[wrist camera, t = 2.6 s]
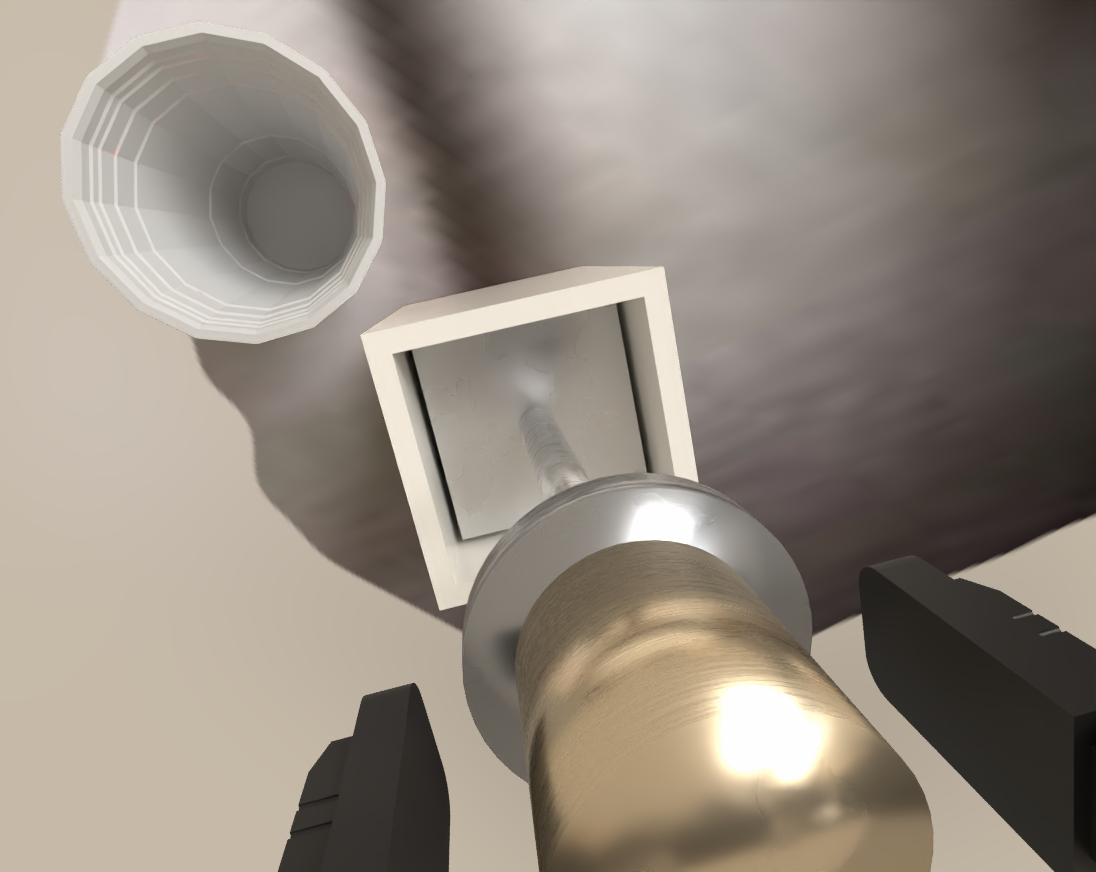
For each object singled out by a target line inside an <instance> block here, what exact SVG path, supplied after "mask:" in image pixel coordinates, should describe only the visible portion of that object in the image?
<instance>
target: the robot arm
mask: <svg viewBox="0 0 1096 872" xmlns="http://www.w3.org/2000/svg"><path fill="white" fill-rule="evenodd" d="M859 588H860V598H861V609H862V619H863V630H864V640H865V650H866V658H867V662H868V666H869V669H870V672H871V674H872V676H873V679H874V681H875V683H876V685H877V686H878V688H879V689H880V691H881V692H882V694H883V695H884V697H885V698H886V699H887V700H888V701H889V702H890V703H891V704H892V705H893V706H894V707H895V708H896V709H897V710H898V711H899V712H900V713H901V714H902V715H903V716H904V717H905V718H906V719H907V721H908V722H909V723H910V724H911V725H912V726H913V727H914V728H915V729H916V730H918V732H919V733H920V734H921V735H922V736H923V737H924V738H925V739H926V740H927V741H928V742H929V743H930V744H931V745H932V746H933V747H934V748H935V749H936V750H937V751H938V752H939V753H940V754H941V755H942V757H943V758H944V759H945V760H946V761H947V762H948V763H949V764H950V765H951V766H952V767H953V768H954V769H955V770H956V771H957V772H958V773H959V774H960V775H961V776H962V777H963V778H964V779H965V780H966V781H967V782H968V783H969V784H970V785H971V786H972V787H973V788H974V789H975V790H976V791H977V793H979V795H980V796H981V797H982V798H983V799H984V800H985V801H986V802H987V803H988V804H989V805H990V806H991V807H992V808H993V809H994V810H995V811H996V812H997V813H998V814H999V815H1000V816H1001V817H1002V818H1003V819H1004V820H1005V821H1006V822H1007V823H1008V824H1009V825H1010V826H1011V827H1012V829H1013V830H1014V831H1015V832H1016V833H1017V834H1018V835H1019V836H1020V837H1021V838H1022V839H1023V840H1024V841H1025V842H1026V843H1027V844H1028V845H1029V846H1030V847H1031V848H1032V849H1033V850H1034V851H1035V852H1036V853H1037V854H1038V855H1039V856H1040V857H1041V858H1042V859H1043V860H1044V861H1045V862H1046V863H1047V864H1048V865H1049V867H1050V868H1051V869H1052V870H1053V871H1054V872H1096V649H1095V648H1093V647H1091V646H1090V645H1088V644H1086V643H1085V642H1083V641H1081V640H1080V639H1078V638H1076V637H1075V636H1073V635H1072V634H1070V633H1068V632H1067V631H1065V632H1061V631H1060V629H1059V627H1058V626H1057V625H1055V624H1054V623H1052V622H1050V621H1049V620H1047V619H1045V618H1044V617H1042V616H1040V615H1039V614H1037V615H1034V614H1033V613H1032V610H1030V609H1029V608H1027V607H1026V606H1024V605H1022V604H1021V603H1019V602H1017V601H1016V600H1014V599H1012V598H1011V597H1009V596H1008V595H1006V594H1004V593H1003V592H1001V591H999V590H995V589H992V588H989V587H986V586H983V585H980V584H977V583H974V582H971V581H968V580H964V579H961V578H959V579H955V580H954V579H952V578H951V577H949V576H947V575H946V574H944V573H943V572H941V571H940V570H938V569H937V568H935V567H933V566H932V565H930V564H929V563H927V562H926V561H924V560H923V559H921V558H919V557H917V556H906V557H903V558H899V559H895V560H891V561H887V562H883V563H879V564H876V565H872V566H868V567H865V568H863V569H862V570H861V572H860V576H859ZM290 834H291V838H290V839H288V840H287V844H286V847H285V850H284V853H283V857H282V860H281V863H280V866H279V870H278V872H449V841H450V802H449V794H448V787H447V781H446V776H445V772H444V768H443V764H442V761H441V759H440V755H439V752H438V749H437V745H436V742H435V739H434V735H433V732H432V729H431V726H430V722H429V719H428V716H427V713H426V709H425V706H424V703H423V700H422V697H421V694H420V691H419V689H418V687H417V685H416V684H415V683H412V684H407V685H404V686H400V687H396V688H392V689H388V690H384V691H380V692H376V693H373V694H369V695H365V696H364V697H363V698H362V701H361V704H360V709H359V713H358V717H357V721H356V725H355V729H354V733H353V736H351V737H347V738H343V739H340V740H336V741H332V742H331V743H330V744H329V746H328V747H327V748H326V750H325V751H324V752H323V754H322V755H321V756H320V758H319V759H318V760H317V762H316V763H315V765H314V766H313V767H312V769H311V770H310V771H309V773H308V776H307V779H306V782H305V786H304V789H303V792H302V795H301V799H300V802H299V811H297V812H296V815H295V818H294V821H293V825H292V828H291V831H290Z"/></svg>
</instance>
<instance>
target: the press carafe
mask: <svg viewBox="0 0 1096 872" xmlns="http://www.w3.org/2000/svg"><path fill="white" fill-rule="evenodd" d="M614 303H616V305H617V311H618V316H619V322H620V327H621V333H622V338H623V344H624V349H625V355H626V360H627V366H628V371H629V377H630V382H631V388H632V393H633V399H634V404H635V410H636V415H637V421H638V426H639V432H640V437H641V443H642V448H643V454H644V459H645V465H646V470H647V473H656V474H667V475H672V476H677V477H681V478H686V479H690V480H692V481H695V482H698V477H697V470H696V464H695V458H694V452H693V446H692V439H691V433H690V427H689V421H688V415H687V408H686V402H685V396H684V390H683V383H682V377H681V371H680V365H679V359H678V352H677V346H676V340H675V334H674V327H673V321H672V315H671V309H670V303H669V296H668V290H667V284H666V278H665V272H664V267H633V266H580V267H576V268H571V269H567V270H562V271H558V272H553V273H549V274H544V275H540V276H536V277H531V278H527V279H522V280H518V281H513V282H509V283H504V284H500V285H495V286H491V287H486V288H482V289H477V290H473V291H468V292H464V293H460V294H455V295H451V296H446V297H442V298H437V299H433V300H428V301H424V302H419V303H415V304H410V305H406V306H403V307H402V308H400V309H399V310H397V311H396V312H394V313H393V314H391V315H390V316H388V317H387V318H385V319H384V320H382V321H381V322H379V323H378V324H376V325H375V326H373V327H372V328H370V329H369V330H367V331H366V332H364V333H363V334H361V335H360V336H361V339H362V343H363V346H364V350H365V353H366V357H367V360H368V364H369V367H370V370H371V374H372V377H373V381H374V384H375V388H376V391H377V395H378V398H379V402H380V405H381V409H382V412H383V416H384V419H385V423H386V426H387V430H388V433H389V436H390V440H391V443H392V447H393V450H394V454H395V457H396V461H397V464H398V468H399V471H400V475H401V478H402V482H403V485H404V489H405V492H406V496H407V499H408V502H409V506H410V509H411V513H412V516H413V520H414V523H415V527H416V530H417V534H418V537H419V541H420V544H421V548H422V551H423V555H424V558H425V561H426V565H427V568H428V572H429V575H430V579H431V582H432V586H433V589H434V593H435V596H436V600H437V603H438V607H439V610H444V609H448V608H452V607H456V606H460V605H464V604H467V602H468V598H469V594H470V591H471V589H472V586H473V584H474V581H475V579H476V576H477V574H478V572H479V570H480V568H481V567H482V565H483V563H484V561H485V560H486V558H487V556H488V554H489V553H490V552H491V550H492V549H493V548H494V546H495V545H496V544H497V542H498V541H499V540H500V538H501V537H502V536H503V535H504V534H505V533H506V532H507V531H508V530H509V529H510V528H509V529H505V530H501V531H497V532H493V533H489V534H485V535H481V536H477V537H473V538H468V539H464V540H463V539H462V535H461V532H460V528H459V524H458V521H457V517H456V513H455V509H454V506H453V502H452V498H451V494H450V491H449V487H448V483H447V480H446V476H445V472H444V468H443V465H442V461H441V457H440V454H439V450H438V446H437V442H436V439H435V435H434V431H433V428H432V424H431V420H430V416H429V413H428V409H427V405H426V401H425V398H424V394H423V390H422V387H421V383H420V379H419V375H418V372H417V368H416V364H415V361H414V357H413V353H412V349H416V348H421V347H425V346H429V345H434V344H438V343H442V342H447V341H451V340H456V339H460V338H464V337H469V336H473V335H478V334H482V333H486V332H491V331H495V330H500V329H504V328H508V327H513V326H517V325H522V324H526V323H530V322H535V321H539V320H543V319H548V318H552V317H557V316H561V315H565V314H570V313H574V312H579V311H583V310H587V309H592V308H596V307H601V306H605V305H609V304H614Z"/></svg>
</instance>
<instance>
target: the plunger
mask: <svg viewBox="0 0 1096 872" xmlns="http://www.w3.org/2000/svg"><path fill="white" fill-rule="evenodd" d="M412 353H413V357H414V361H415V364H416V368H417V372H418V375H419V379H420V383H421V387H422V390H423V394H424V398H425V401H426V405H427V409H428V413H429V416H430V420H431V424H432V428H433V431H434V435H435V439H436V442H437V446H438V450H439V454H440V457H441V461H442V465H443V468H444V472H445V476H446V480H447V483H448V487H449V491H450V494H451V498H452V502H453V506H454V509H455V513H456V517H457V521H458V524H459V528H460V532H461V535H462V539H463V540H464V539H468V538H473V537H477V536H481V535H485V534H489V533H493V532H497V531H501V530H505V529H509V528H510V529H509V530H508V531H507V532H506V533H505V534H504V535H503V536H502V537H501V538H500V540H499V541H498V542H497V544H496V545H495V546H494V548H493V549H492V550H491V552H490V553H489V554H488V556H487V558H486V560H485V561H484V563H483V565H482V567H481V568H480V570H479V572H478V574H477V576H476V579H475V581H474V584H473V586H472V589H471V591H470V594H469V598H468V602H467V606H466V610H465V614H464V624H463V639H462V640H463V641H462V642H463V643H462V644H463V645H462V665H463V684H464V688H465V694H466V699H467V703H468V707H469V709H470V712H471V714H472V717H473V720H474V722H475V725H476V726H477V728H478V730H479V732H480V734H481V736H482V737H483V739H484V741H485V742H486V743H487V745H488V746H489V747H490V749H491V750H492V751H493V753H494V754H495V755H496V756H497V758H498V759H499V760H500V761H501V762H503V763H504V764H505V765H506V766H507V767H508V768H509V769H510V770H511V771H512V772H513V773H515V774H516V775H517V776H519V777H520V778H522V779H523V780H525V781H526V782H527V783H529V791H530V799H531V807H532V816H533V824H534V832H535V840H536V848H537V856H538V865H539V872H930V869H931V862H932V856H933V827H932V821H931V814H930V810H929V807H928V804H927V801H926V798H925V795H924V792H923V790H922V788H921V787H920V785H919V783H918V781H917V779H916V777H915V775H914V774H913V773H912V771H911V770H910V769H909V767H908V766H907V765H906V763H905V762H904V761H903V760H902V758H901V757H900V756H899V755H898V754H897V753H896V752H895V751H894V749H893V748H892V747H891V746H890V745H889V744H888V743H887V741H886V740H885V739H884V738H883V737H882V736H881V735H880V733H879V732H878V731H877V730H876V729H875V728H874V727H873V726H872V725H871V723H870V722H869V721H868V720H867V719H866V718H865V717H864V716H863V714H862V713H861V712H860V711H859V710H858V709H857V708H856V706H855V705H854V704H853V703H852V702H851V701H850V700H849V698H848V697H847V696H846V695H845V694H844V693H843V692H842V691H841V690H840V688H839V687H838V686H837V685H836V684H835V683H834V682H833V680H832V679H831V678H830V677H829V676H828V675H827V674H826V673H825V671H824V670H823V669H822V668H821V667H820V666H819V665H818V664H817V662H816V661H815V660H814V659H813V658H812V657H811V656H810V653H811V642H812V618H811V610H810V605H809V600H808V595H807V592H806V589H805V586H804V583H803V580H802V578H801V575H800V573H799V571H798V569H797V567H796V566H795V564H794V562H793V560H792V558H791V557H790V555H789V554H788V553H787V551H786V550H785V549H784V547H783V546H782V545H781V543H780V542H779V541H778V540H777V539H776V538H775V537H774V536H773V535H772V534H771V533H770V532H769V531H768V530H767V529H766V528H765V527H764V526H763V525H762V524H761V523H760V522H758V521H757V520H756V519H755V518H754V517H753V516H752V515H750V514H749V513H748V512H747V511H746V510H745V509H744V508H742V507H741V506H740V505H738V504H737V503H736V502H734V501H733V500H731V499H730V498H729V497H727V496H726V495H724V494H722V493H720V492H718V491H716V490H714V489H712V488H711V487H709V486H706V485H704V484H701V483H698V482H695V481H692V480H690V479H686V478H681V477H677V476H672V475H667V474H656V473H647V470H646V465H645V459H644V454H643V448H642V443H641V437H640V432H639V426H638V421H637V415H636V410H635V404H634V399H633V393H632V388H631V382H630V377H629V371H628V366H627V360H626V355H625V349H624V344H623V338H622V333H621V327H620V322H619V316H618V311H617V305H616V303H614V304H609V305H605V306H601V307H596V308H592V309H587V310H583V311H579V312H574V313H570V314H565V315H561V316H557V317H552V318H548V319H543V320H539V321H535V322H530V323H526V324H522V325H517V326H513V327H508V328H504V329H500V330H495V331H491V332H486V333H482V334H478V335H473V336H469V337H464V338H460V339H456V340H451V341H447V342H442V343H438V344H434V345H429V346H425V347H421V348H416V349H412Z"/></svg>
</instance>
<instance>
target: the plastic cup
mask: <svg viewBox="0 0 1096 872" xmlns="http://www.w3.org/2000/svg"><path fill="white" fill-rule="evenodd" d="M60 136H61V177H62V201H63V203H64V205H65V208H66V210H67V212H68V215H69V217H70V219H71V221H72V224H73V226H74V228H75V230H76V233H77V235H78V237H79V239H80V242H81V244H82V246H83V248H84V251H85V253H86V255H87V257H88V260H89V261H90V263H91V264H92V265H93V266H94V267H95V268H96V269H97V270H98V271H99V272H100V273H101V274H102V275H103V276H104V277H105V278H106V279H107V280H108V281H109V282H110V283H111V284H112V285H113V286H114V287H115V288H116V289H117V290H118V291H119V292H120V293H121V294H122V295H123V296H124V297H125V298H126V299H127V300H128V301H129V302H130V303H131V304H132V305H133V306H134V307H135V309H136V310H138V311H140V312H142V313H144V314H146V315H148V316H150V317H152V318H155V319H157V320H159V321H161V322H163V323H165V324H167V325H169V326H171V327H173V328H176V329H178V330H180V331H182V332H184V333H186V334H188V335H190V336H192V337H194V338H197V339H208V340H219V341H230V342H240V343H251V344H260V343H263V342H267V341H270V340H273V339H277V338H280V337H284V336H287V335H290V334H294V333H297V332H301V331H304V330H308V329H311V328H314V327H315V326H316V325H318V324H319V323H320V322H321V321H322V320H324V319H325V318H326V317H327V316H328V315H330V314H331V313H332V312H333V311H334V310H336V309H337V308H338V307H339V306H341V305H342V304H343V303H344V302H345V301H347V300H348V299H349V298H350V297H351V296H353V295H354V294H355V293H356V292H357V291H358V289H359V287H360V285H361V283H362V281H363V279H364V277H365V275H366V273H367V271H368V269H369V267H370V265H371V263H372V261H373V259H374V257H375V255H376V253H377V251H378V249H379V247H380V245H381V243H382V239H383V223H384V207H385V191H386V180H385V177H384V174H383V171H382V168H381V165H380V162H379V159H378V156H377V153H376V150H375V146H374V143H373V140H372V137H371V134H370V131H369V128H368V125H367V122H366V121H365V119H364V118H363V117H362V115H361V114H360V113H359V112H358V110H357V109H356V108H355V107H354V105H353V104H352V103H351V102H350V100H349V99H348V98H347V96H346V95H345V94H344V93H343V91H342V90H341V89H340V88H339V86H338V85H337V84H336V82H335V81H334V80H333V79H332V77H331V76H330V75H329V74H328V72H327V71H326V70H325V69H324V68H322V67H321V66H319V65H317V64H316V63H314V62H312V61H311V60H309V59H308V58H306V57H304V56H303V55H301V54H299V53H298V52H296V51H295V50H293V49H291V48H290V47H288V46H286V45H285V44H283V43H282V42H280V41H278V40H277V39H275V38H273V37H272V36H270V35H269V34H267V33H262V32H257V31H251V30H246V29H240V28H235V27H230V26H224V25H219V24H213V23H208V22H202V21H198V22H193V23H189V24H185V25H181V26H176V27H172V28H168V29H163V30H159V31H155V32H151V33H146V34H142V35H138V36H135V37H134V38H133V39H131V40H130V41H129V42H128V43H126V44H125V45H124V46H123V47H122V48H120V49H119V50H118V51H117V52H115V53H114V54H113V55H112V56H111V57H109V58H108V59H107V60H106V61H104V62H103V63H102V64H101V65H99V66H98V67H97V68H96V69H95V70H93V71H92V72H91V73H90V74H88V75H87V76H86V78H85V81H84V83H83V85H82V87H81V90H80V92H79V94H78V96H77V98H76V101H75V103H74V105H73V107H72V110H71V112H70V114H69V116H68V119H67V121H66V123H65V125H64V128H63V130H62V132H61V135H60Z"/></svg>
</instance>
